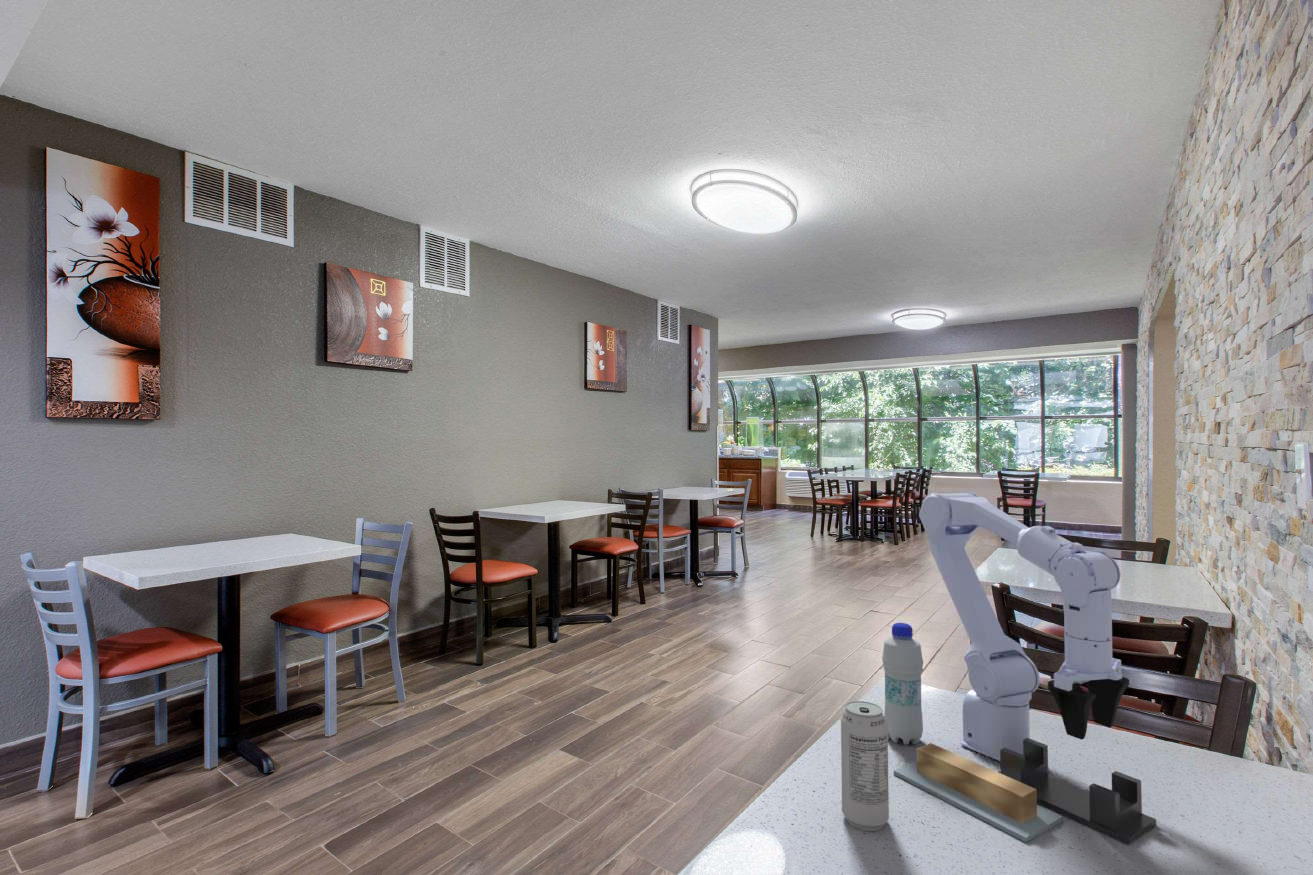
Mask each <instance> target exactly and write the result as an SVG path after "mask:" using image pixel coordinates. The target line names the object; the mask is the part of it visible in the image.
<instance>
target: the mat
mask: <svg viewBox="0 0 1313 875" xmlns="http://www.w3.org/2000/svg"><path fill="white" fill-rule="evenodd" d="M893 776H897V777H898V778H900V779H902V780H904V781H906V782H908V783H909V784H912V785H914V786H915V787H918V788H920V789H922V790H924V791H925V792H927V793H929V794H931V795H933V796H935V797H937V798H939V799H941V800H943V801H944V802H947V803H948V804H950V805H953V806H955V807H956V808H958V809H960V810H962V811H964V812H966V813H967V814H970V815H971V816H973V817H976V818H978V819H980V820H982V821H983V822H986V823H987V824H989V825H991V826H993V827H995V828H998V829H999V830H1001V831H1003V832H1005V833H1007V834H1008V835H1010V836H1013V837H1014V838H1017V839H1018V840H1020V841H1021V842H1022V841H1023V842H1024V843H1027V842H1030V841H1031V840H1033V839H1035V838H1036V837H1038V836H1039V835H1040V836H1041V834H1044V832H1047V831H1048V830H1050V829H1052V828H1054V827H1055V826H1056V825H1058V824H1060V823H1062V822H1064V817H1063V816H1064V815H1062V814H1060V813H1057V812H1055V811H1053V810H1051V809H1049V808H1046V807H1044V806H1042V805H1040V804H1037V816H1036V817H1034V818H1032V819H1030V820H1028V821H1027V822H1025V823H1021V822H1019V821H1017V820H1015V819H1012V818H1010V817H1008V816H1006V815H1004V814H1002V813H1000V812H998V811H996V810H994V809H992V808H990V807H988V806H986V805H984V804H982V803H980V802H978V801H976V800H974V799H972V798H970V797H968V796H966V795H964V794H961V793H959V792H957V791H955V790H953V789H951V788H949V787H947V786H945V785H943V784H941V783H939V782H937V781H935V780H933V779H931V778H929V777H927V776H925V775H923V774H921V773H919V772H917V760H916V761H914V762H911V763H909V764H908V763H907V764H906V765H903V766H901V767H899V768H896V769H894V770H893Z"/></svg>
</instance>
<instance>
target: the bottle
mask: <svg viewBox="0 0 1313 875" xmlns="http://www.w3.org/2000/svg"><path fill="white" fill-rule="evenodd" d="M913 634H914V631H913V627H912V625H910V624H908V623H906V622H896V623H894V624H892V626H891V636H890V637H888V638H886V639H885V640H884V641H883V649H882V656H881V660H882V667H883V669H884V710H883V711H884V712H883V716H884V717H885V719H886V721H887V724H888V739H890V740H892V742H894V743H895V744H897V743H899V739H901V740H902V741H903V745H904V746H907V745H908V746H909V744H910V741H911V744H913V745H917V744H919V742H920V741H921V738H922V736H923V732H924V720H923V711H922V710H923V709H922V708H923V707H922V673H923V671H924V668H923V667H924V659H923V653H922V646H921V642H919V641H917V640H916V639H914V638H913Z"/></svg>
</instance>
